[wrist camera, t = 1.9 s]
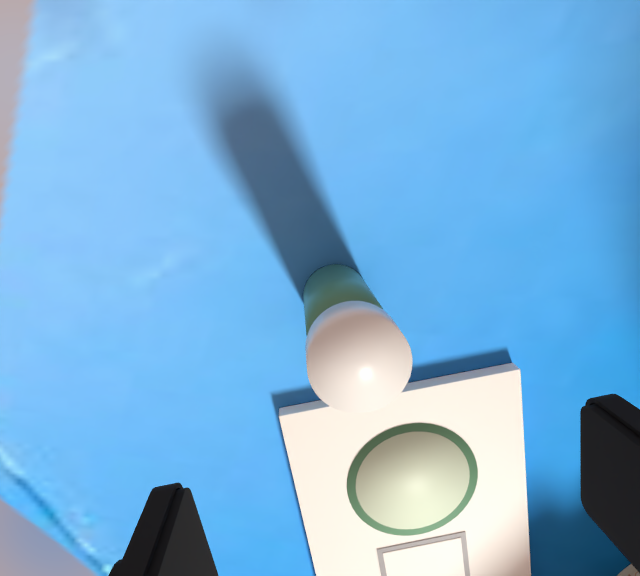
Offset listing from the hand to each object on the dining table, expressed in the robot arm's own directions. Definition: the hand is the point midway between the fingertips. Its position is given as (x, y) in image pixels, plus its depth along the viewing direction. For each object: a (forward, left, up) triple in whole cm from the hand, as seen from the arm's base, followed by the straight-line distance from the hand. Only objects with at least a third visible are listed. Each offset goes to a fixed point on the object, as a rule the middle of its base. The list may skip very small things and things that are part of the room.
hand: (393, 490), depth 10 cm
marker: (0, 0, -17) cm, 17 cm away
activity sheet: (-3, +17, -17) cm, 24 cm away
